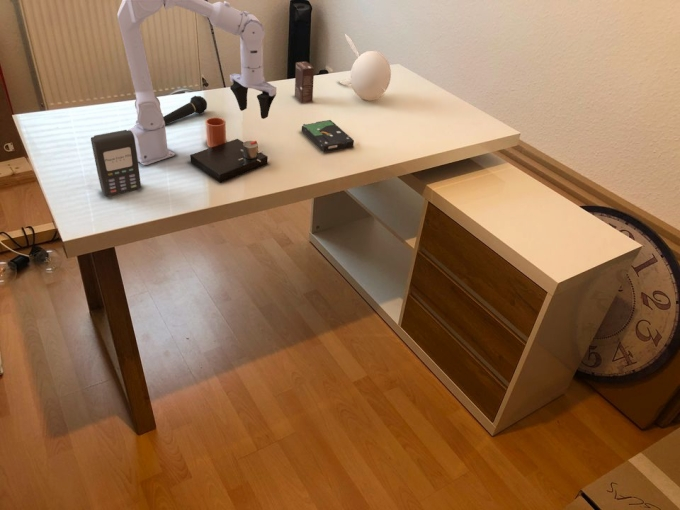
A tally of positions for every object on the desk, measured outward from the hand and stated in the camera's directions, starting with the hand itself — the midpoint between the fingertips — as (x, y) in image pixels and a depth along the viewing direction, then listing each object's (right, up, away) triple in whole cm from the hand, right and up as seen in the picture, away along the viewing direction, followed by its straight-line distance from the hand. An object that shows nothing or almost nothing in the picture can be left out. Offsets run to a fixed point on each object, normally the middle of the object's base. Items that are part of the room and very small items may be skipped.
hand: (253, 113), depth 153 cm
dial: (0, -12, -3) cm, 13 cm away
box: (+11, +14, +36) cm, 41 cm away
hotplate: (-6, -14, -2) cm, 16 cm away
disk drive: (+20, -5, +14) cm, 25 cm away
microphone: (-25, +2, +16) cm, 30 cm away
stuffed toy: (+31, +18, +44) cm, 57 cm away
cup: (-12, -7, +6) cm, 15 cm away
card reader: (-30, -24, -18) cm, 42 cm away
